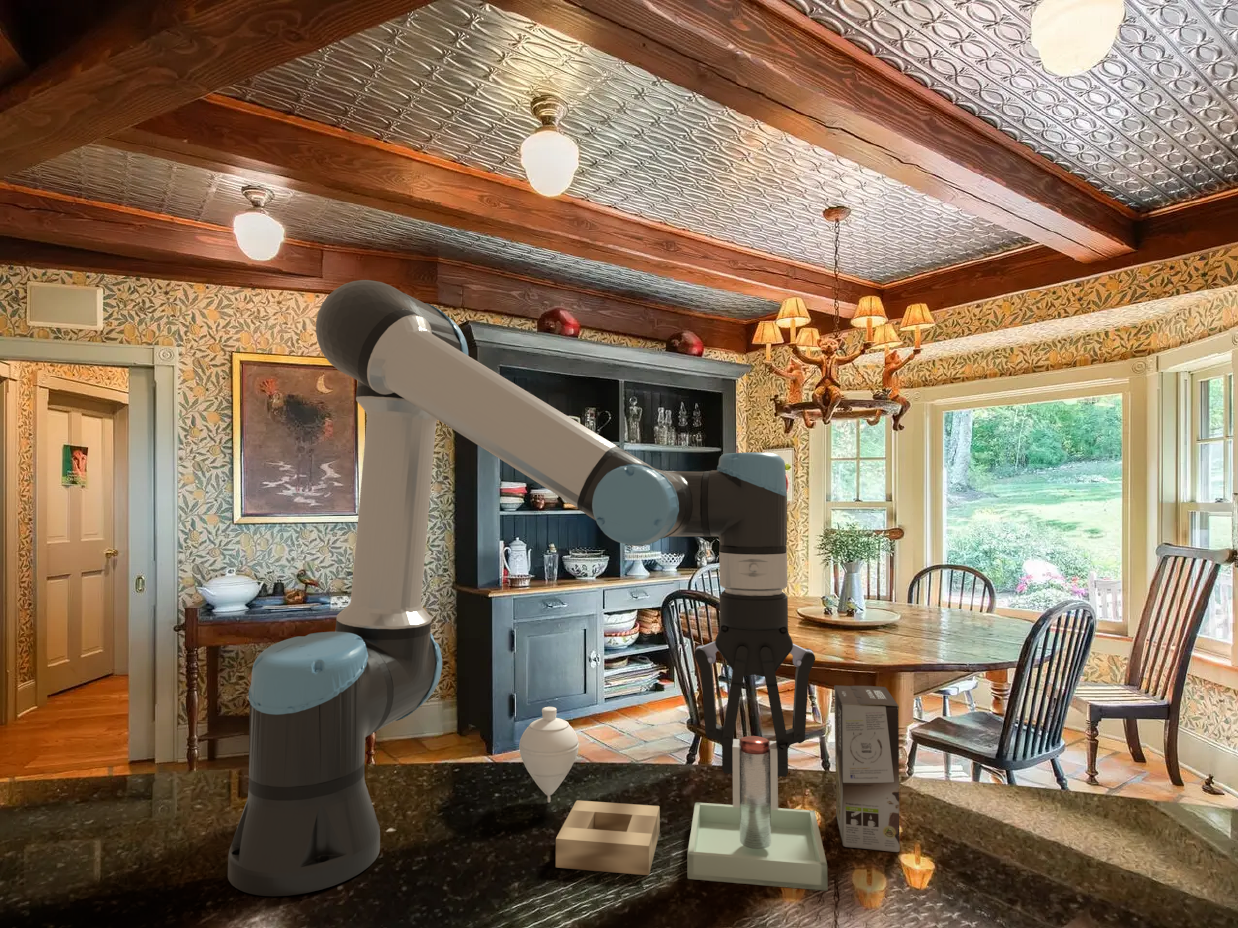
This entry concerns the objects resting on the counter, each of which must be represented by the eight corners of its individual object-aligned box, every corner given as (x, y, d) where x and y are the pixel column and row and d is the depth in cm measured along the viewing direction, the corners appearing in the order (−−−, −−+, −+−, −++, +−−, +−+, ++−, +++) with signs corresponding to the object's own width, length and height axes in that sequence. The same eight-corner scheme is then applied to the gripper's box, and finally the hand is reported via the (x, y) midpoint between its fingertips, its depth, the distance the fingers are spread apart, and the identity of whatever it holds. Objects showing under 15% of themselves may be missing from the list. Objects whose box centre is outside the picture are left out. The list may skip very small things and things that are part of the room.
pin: (739, 847, 80) (739, 744, 80) (739, 833, 83) (739, 734, 84) (771, 849, 79) (770, 746, 80) (770, 835, 83) (769, 736, 83)
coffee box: (902, 853, 81) (900, 705, 82) (841, 847, 83) (840, 702, 83) (889, 818, 90) (887, 685, 91) (834, 813, 92) (833, 682, 92)
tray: (687, 878, 76) (687, 853, 76) (695, 823, 89) (695, 802, 89) (827, 890, 74) (827, 865, 74) (814, 832, 87) (814, 810, 87)
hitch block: (555, 867, 78) (555, 838, 78) (576, 825, 88) (576, 800, 88) (649, 875, 77) (649, 845, 77) (659, 831, 87) (659, 805, 87)
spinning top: (533, 820, 90) (533, 720, 90) (509, 797, 96) (510, 704, 97) (589, 806, 94) (589, 711, 94) (562, 786, 100) (563, 696, 101)
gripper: (677, 593, 80) (677, 812, 79) (833, 596, 78) (836, 823, 76) (682, 584, 88) (683, 785, 87) (825, 587, 85) (827, 794, 84)
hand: (755, 803), depth 82 cm, fingers closed on pin, 3 cm apart
